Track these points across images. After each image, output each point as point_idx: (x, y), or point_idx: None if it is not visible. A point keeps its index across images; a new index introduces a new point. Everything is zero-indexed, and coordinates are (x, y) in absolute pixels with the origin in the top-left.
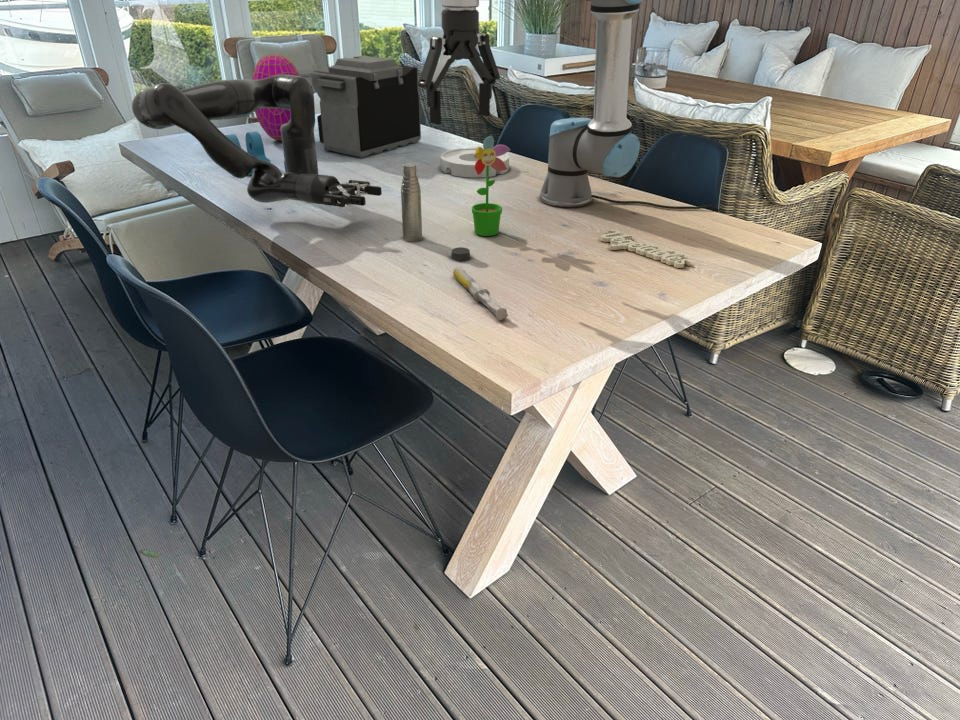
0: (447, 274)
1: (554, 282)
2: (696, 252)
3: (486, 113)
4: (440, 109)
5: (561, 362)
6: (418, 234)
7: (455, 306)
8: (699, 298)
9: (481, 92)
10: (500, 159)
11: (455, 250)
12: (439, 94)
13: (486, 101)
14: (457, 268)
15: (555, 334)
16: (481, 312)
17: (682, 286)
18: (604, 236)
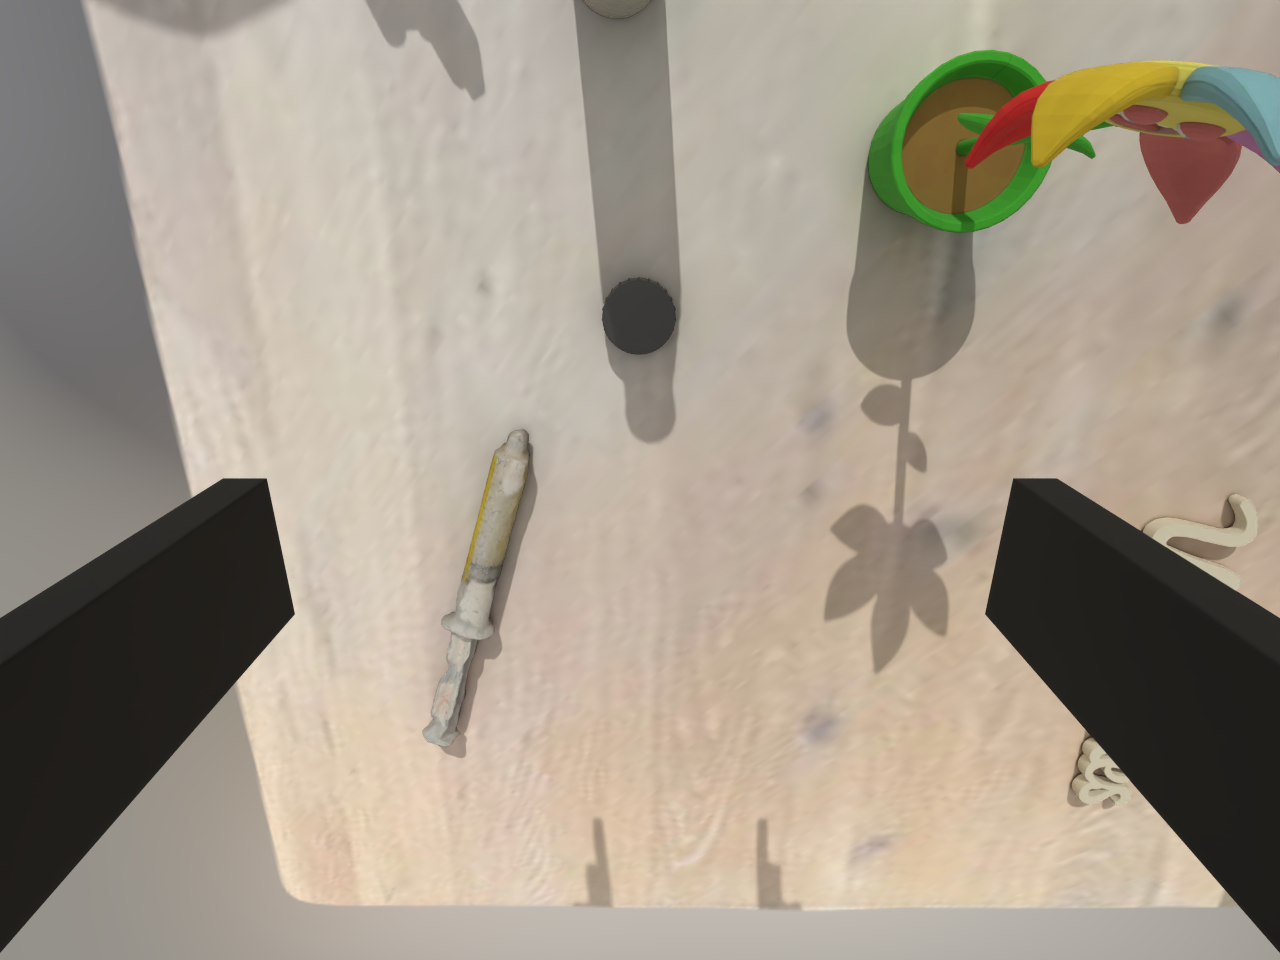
0: (504, 405)
1: (732, 649)
2: None
3: (1000, 624)
4: (198, 721)
5: (438, 892)
6: (618, 10)
7: (392, 594)
8: (922, 897)
9: (1214, 690)
10: (1233, 155)
11: (623, 303)
12: (14, 910)
13: (1088, 716)
14: (501, 470)
15: (510, 823)
16: (432, 659)
17: (961, 846)
18: (1165, 537)
